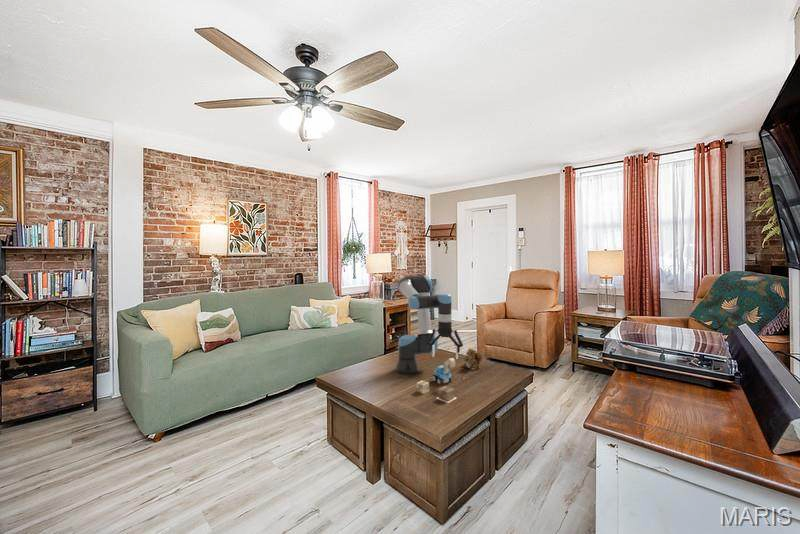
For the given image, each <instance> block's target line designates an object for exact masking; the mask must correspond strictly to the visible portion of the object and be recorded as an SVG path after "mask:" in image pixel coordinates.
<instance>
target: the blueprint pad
mask: <svg viewBox="0 0 800 534" xmlns="http://www.w3.org/2000/svg"><path fill="white" fill-rule="evenodd" d="M456 399H457V397H455V396H454V398H453V399H452V400H450V401H448V402H447V401H445V400H442V399H439V396H438V397H436V400H439V401H442V402H443V403H444V402H445V403H447V404H449V403H450V402H452V401H454V400H456Z"/></svg>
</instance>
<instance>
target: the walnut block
mask: <svg viewBox="0 0 800 534" xmlns="http://www.w3.org/2000/svg"><path fill="white" fill-rule="evenodd" d="M438 397H439V399H442V400H445V401H447V402H448V401H450V400H452V399H453V398H454V397H455V388H453V387H450V386H447V385H444V386H442V387H440V388H438ZM439 399H438V400H439ZM442 400H441V401H442ZM452 401H453V400H452ZM447 402H446V403H447Z"/></svg>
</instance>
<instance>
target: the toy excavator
mask: <svg viewBox="0 0 800 534" xmlns="http://www.w3.org/2000/svg"><path fill="white" fill-rule="evenodd" d="M454 367H456V360H455V358H453V357H451V358H448V359H447V360H445V361H444V363H443V365H438V366H436V367H435V370H434V372H433V375H432V376H431V377H432V381H433V382H436V383H437V384H438V385H443V384H447V383H452V382H453V380H452V379H453V378H452V374H451V373H450V369H449V368H454Z"/></svg>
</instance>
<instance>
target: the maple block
mask: <svg viewBox="0 0 800 534" xmlns="http://www.w3.org/2000/svg"><path fill="white" fill-rule="evenodd" d="M416 392H418V393H420V394H422V395H424V394H426V393H428V392H430V382H428V381H426V380H420V381H418V382H416Z"/></svg>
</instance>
